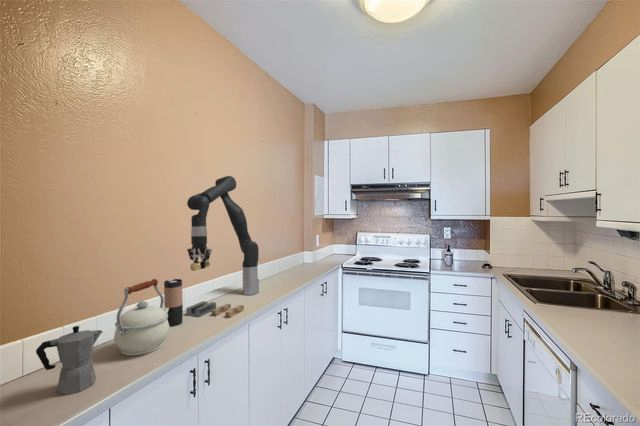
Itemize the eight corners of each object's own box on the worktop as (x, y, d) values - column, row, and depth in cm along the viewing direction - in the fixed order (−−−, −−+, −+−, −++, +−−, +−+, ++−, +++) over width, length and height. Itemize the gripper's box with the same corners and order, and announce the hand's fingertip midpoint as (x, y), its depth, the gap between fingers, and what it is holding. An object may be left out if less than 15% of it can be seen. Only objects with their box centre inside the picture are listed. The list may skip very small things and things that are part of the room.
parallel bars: (226, 308, 162) (226, 303, 162) (243, 310, 158) (243, 305, 158) (211, 315, 150) (211, 310, 150) (229, 317, 147) (229, 313, 147)
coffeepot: (100, 371, 99) (99, 316, 99) (107, 382, 92) (106, 323, 92) (35, 392, 87) (34, 331, 87) (38, 406, 81) (37, 340, 81)
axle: (203, 266, 161) (204, 260, 161) (209, 267, 160) (209, 260, 160) (190, 270, 152) (190, 263, 151) (196, 271, 150) (196, 263, 150)
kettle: (141, 363, 104) (140, 291, 103) (97, 359, 107) (95, 289, 107) (187, 334, 128) (186, 275, 128) (150, 331, 132) (149, 274, 132)
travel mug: (178, 326, 137) (177, 282, 136) (161, 326, 137) (160, 282, 137) (185, 320, 144) (185, 278, 144) (170, 320, 144) (169, 279, 144)
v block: (203, 307, 163) (202, 301, 163) (216, 309, 160) (216, 302, 160) (186, 315, 152) (186, 308, 152) (200, 316, 149) (200, 309, 149)
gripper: (182, 235, 154) (183, 269, 154) (205, 235, 149) (205, 270, 149) (193, 234, 161) (193, 266, 161) (215, 234, 156) (215, 267, 156)
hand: (199, 268), depth 155 cm, fingers closed on axle, 3 cm apart
